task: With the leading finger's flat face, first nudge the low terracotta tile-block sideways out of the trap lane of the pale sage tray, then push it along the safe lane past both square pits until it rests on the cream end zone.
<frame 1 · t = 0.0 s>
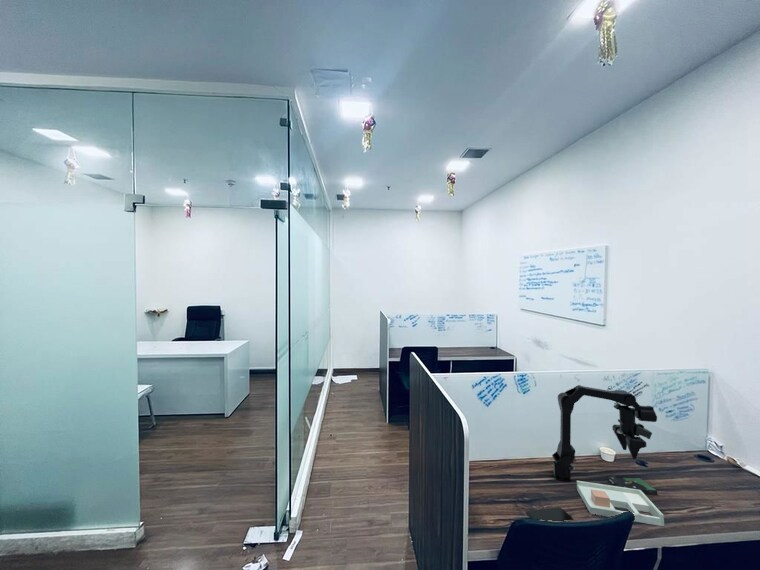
hand: (629, 454, 141), 15 cm above the table, fingers open, 9 cm apart
disk drive: (631, 489, 140), on the table
terracotta block: (600, 502, 125), point 2 cm above the table, touching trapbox
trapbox: (616, 506, 127), on the table
smartphone: (549, 517, 121), on the table
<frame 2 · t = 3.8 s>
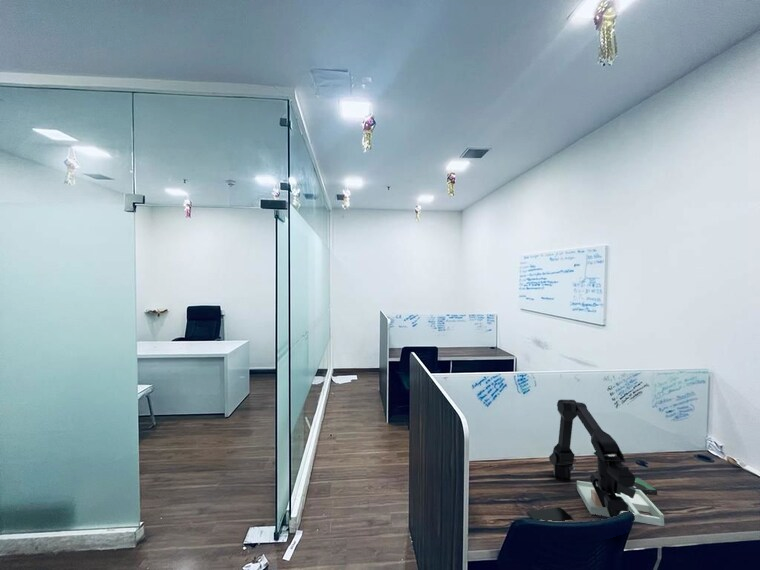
hand: (608, 514, 117), 3 cm above the table, fingers open, 9 cm apart
terracotta block: (600, 502, 125), point 2 cm above the table, touching gripper, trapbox
everything else where it was.
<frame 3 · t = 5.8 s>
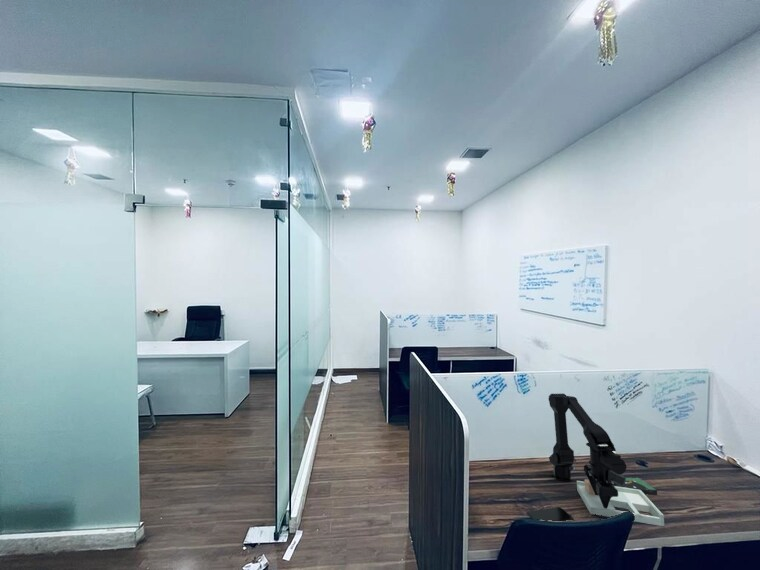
hand: (600, 501, 125), 3 cm above the table, fingers open, 9 cm apart
terracotta block: (593, 491, 133), point 3 cm above the table, touching gripper, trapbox
everything else where it was.
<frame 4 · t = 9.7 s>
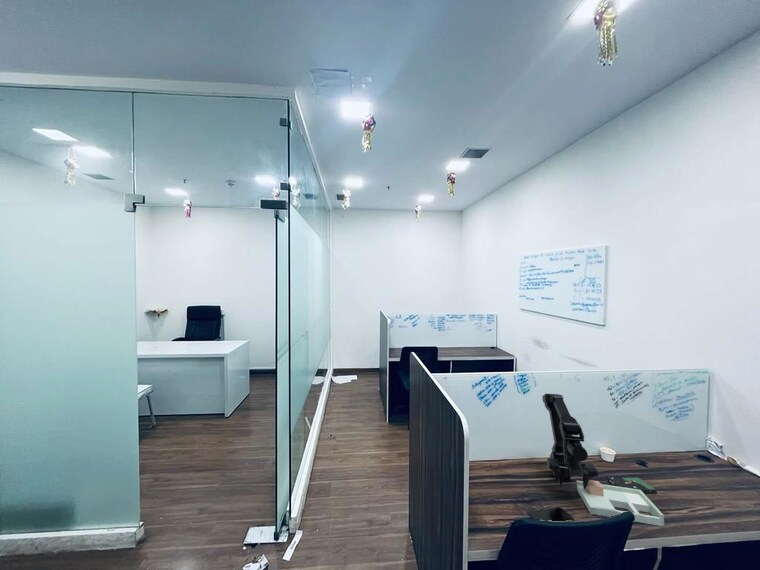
hand: (572, 487, 135), 3 cm above the table, fingers open, 9 cm apart
terracotta block: (594, 491, 133), point 3 cm above the table, touching gripper
everything else where it was.
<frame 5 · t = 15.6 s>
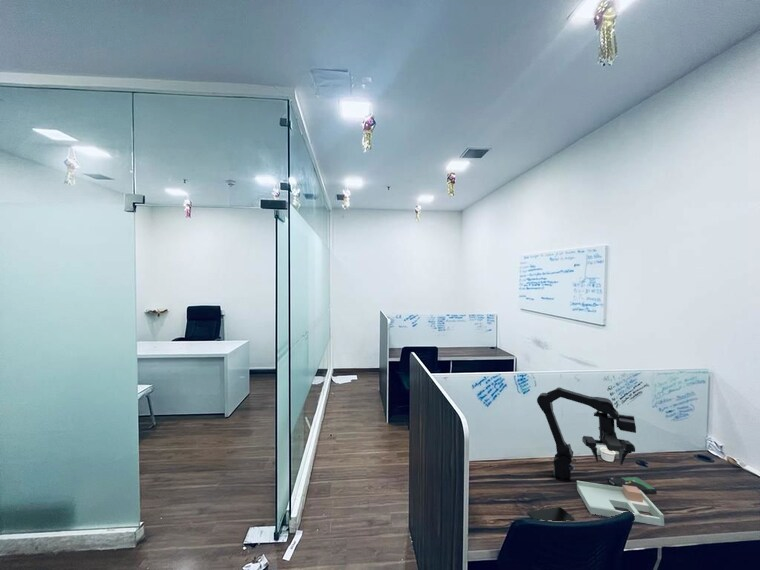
hand: (608, 463, 139), 12 cm above the table, fingers open, 9 cm apart
terracotta block: (632, 497, 129), point 2 cm above the table, touching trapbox
everything else where it was.
at the end: terracotta block inside the target area on the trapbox (0.5 cm from its centre), point 2.5 cm above the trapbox's base; terracotta block tilted 0° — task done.
